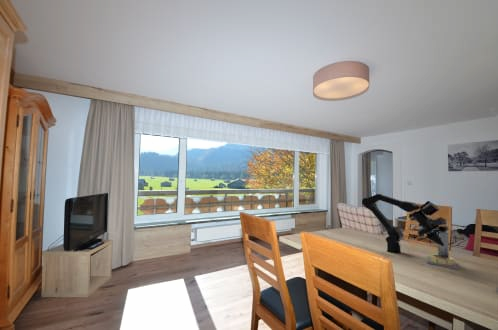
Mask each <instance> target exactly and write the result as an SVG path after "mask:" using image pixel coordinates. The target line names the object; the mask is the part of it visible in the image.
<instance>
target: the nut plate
mask: <svg viewBox="0 0 498 330" xmlns="http://www.w3.org/2000/svg"><path fill="white" fill-rule="evenodd" d="M426 263H427V264H428V265H432V266H438V267H442V268H447V269H448V268H449V269H451V270H453V269H454V270H458V266H457V262H456V260H455V259H454V257H452V256H449V258H442V257H439V256H438V253H429V255H428V256H427V259H426Z"/></svg>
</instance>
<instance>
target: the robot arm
mask: <svg viewBox="0 0 498 330" xmlns="http://www.w3.org/2000/svg"><path fill="white" fill-rule="evenodd" d="M379 201H381V202H384V203H387V204H389V205H392V206H396V207H398V208H400V209H401V210H403V211H405V212H406V213H408V214H409V215H408V219H414V220H415V221H416V222H417V223H418V226H419V227H421V229H420V230H418V231H417V235H418V236H419V237H420V238H423V237H425V238H426V239H428V240H430V241H432V242H434V243H436V244H437V245H438V244H440V245H441V246H444V244H443V242H442V241H441V240H440V238H439V237H438V232H446V233H447V232H448V231H449V230H450V229H449V227H448V226H446V225H447V223H446V222H447V220H446V219H445V218H444V217H443V216H442V217H437V218H436V219H432V218H429V217H428V216H433V215H434V214H436V213H437V212H439V211H440V210H441V209H440V208H439V207H438V206H437V205H436V204H435V203H433V202H431V201H430V200H428V201H425V203H424V204H422V205H419V204H416V203H415V202H413V201H408V200H401V199H396V198H394V197H390V196H388V195H384V194H382V193H375V194H374V195H371V196H368V197H363V199H362V200H361V204H362V205H363V206H364V207H365V208H366V209H367V210H369V211H370V212H372V214H373V215H374V216H375V217H376V219H377V220H378V221H379V222H380V223H381V225H382V226H383V227H384V228H385V230H386V233H387V235H388V236H387V237H385V241H386V245H387V250H386V252H389V253H395V254H397V255H398V254H400V253H401V244H400V242H401V240H403V238H404V233H403V230H401V229H400V227H399V226H394V225H393V224H392V223H391V222H390V221H389V219H388V218H387V217H386V216H385V215H384V213H382V211H381V210H380V209H379V208H378V205H377V202H379ZM411 212H412V213H411ZM425 235H426V236H425ZM449 246H450V243H449Z"/></svg>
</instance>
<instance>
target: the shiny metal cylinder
mask: <svg viewBox="0 0 498 330" xmlns="http://www.w3.org/2000/svg"><path fill="white" fill-rule="evenodd" d="M438 237H439V238H440V240H441V241H442V242H443V244H444V246H441V245H440V244H438V243H437V254H438V256H439V257H442V258H449V257H450V252H449V250H450V248H449V246H450V245H449V244H450V242H449V232H447V231H446V232H438Z"/></svg>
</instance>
